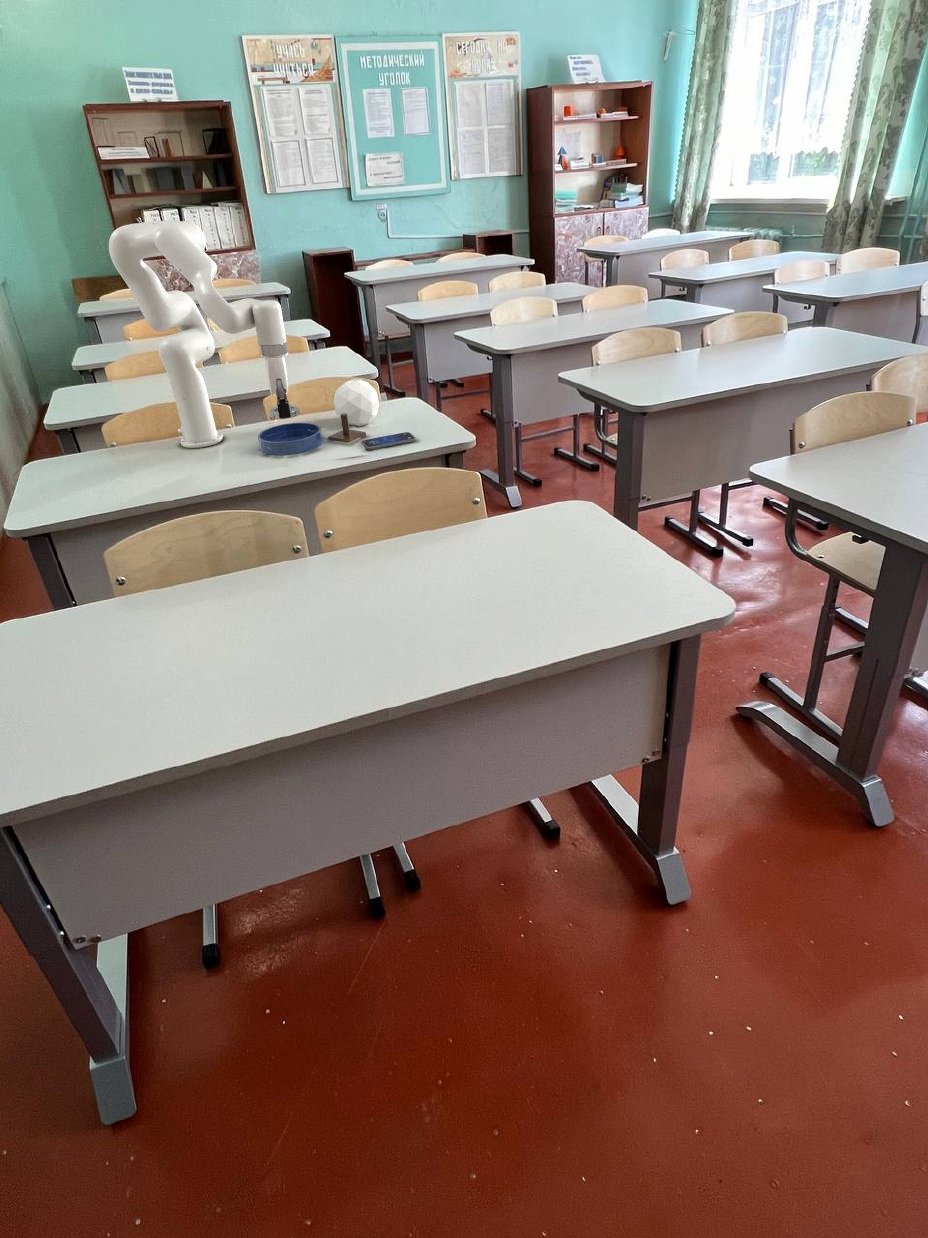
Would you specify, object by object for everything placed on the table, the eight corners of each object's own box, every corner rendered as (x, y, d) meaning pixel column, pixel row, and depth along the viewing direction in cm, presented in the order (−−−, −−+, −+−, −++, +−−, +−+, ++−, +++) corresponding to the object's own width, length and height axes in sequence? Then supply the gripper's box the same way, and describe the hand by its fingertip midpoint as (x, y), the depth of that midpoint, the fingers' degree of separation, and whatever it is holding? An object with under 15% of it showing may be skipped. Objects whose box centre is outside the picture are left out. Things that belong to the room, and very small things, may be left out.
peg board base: (328, 441, 224) (324, 416, 220) (345, 433, 230) (342, 409, 226) (349, 444, 220) (345, 419, 216) (366, 436, 226) (363, 411, 222)
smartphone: (417, 438, 219) (367, 447, 214) (417, 441, 219) (367, 451, 215) (408, 431, 224) (360, 440, 220) (409, 434, 225) (360, 443, 220)
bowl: (247, 453, 220) (244, 437, 218) (291, 434, 233) (288, 419, 230) (293, 461, 211) (290, 445, 209) (336, 441, 224) (333, 426, 222)
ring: (269, 412, 222) (268, 406, 221) (298, 408, 223) (297, 403, 223) (270, 420, 215) (269, 414, 214) (300, 416, 217) (299, 411, 216)
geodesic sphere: (346, 395, 244) (331, 366, 231) (388, 395, 242) (376, 365, 228) (338, 435, 239) (322, 407, 226) (381, 435, 236) (368, 406, 223)
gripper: (259, 344, 212) (271, 410, 222) (260, 357, 199) (272, 426, 209) (286, 342, 214) (296, 407, 223) (289, 354, 201) (299, 422, 210)
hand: (284, 415), depth 216 cm, fingers closed on ring, 1 cm apart
